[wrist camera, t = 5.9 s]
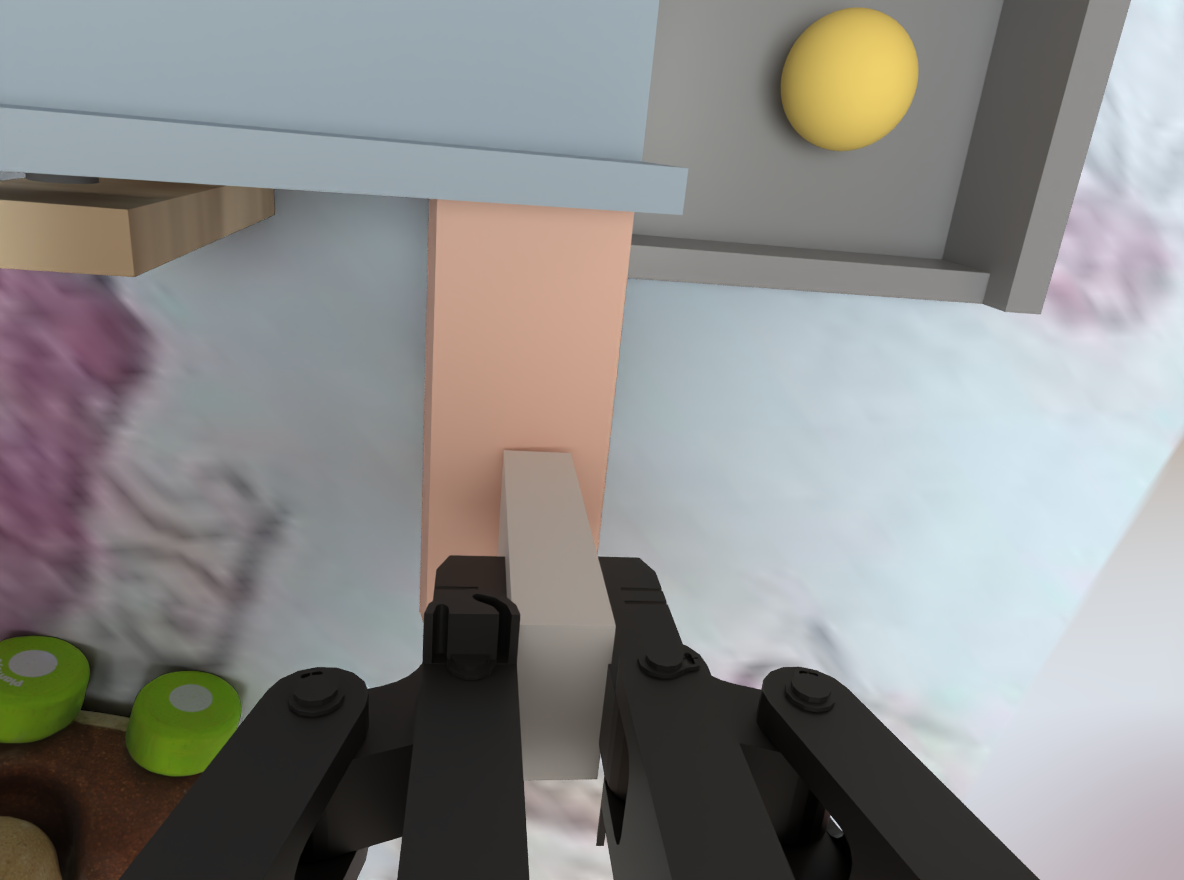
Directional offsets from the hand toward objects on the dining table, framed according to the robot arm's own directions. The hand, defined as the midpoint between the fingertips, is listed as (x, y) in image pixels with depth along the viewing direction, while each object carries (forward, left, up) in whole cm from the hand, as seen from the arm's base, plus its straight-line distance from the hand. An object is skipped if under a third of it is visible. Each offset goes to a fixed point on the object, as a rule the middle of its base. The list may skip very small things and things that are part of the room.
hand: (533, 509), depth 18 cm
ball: (+7, +10, -5) cm, 13 cm away
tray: (+6, +10, -7) cm, 13 cm away
